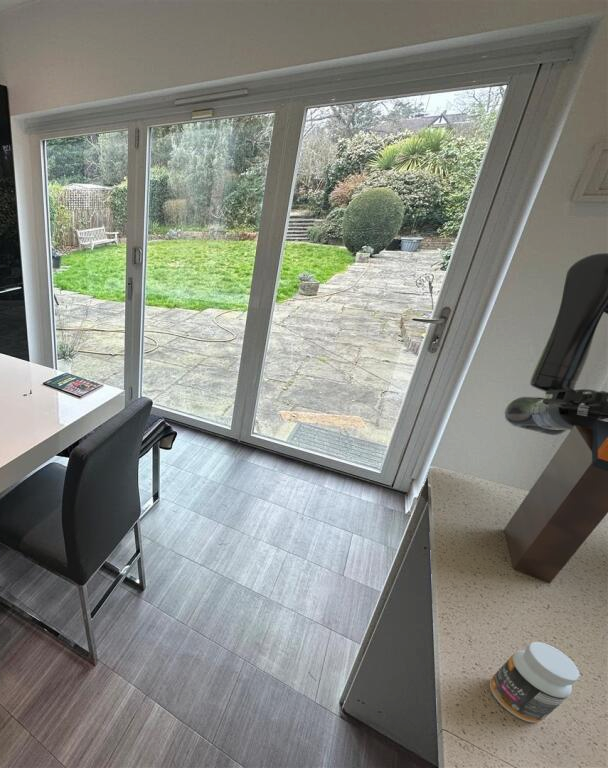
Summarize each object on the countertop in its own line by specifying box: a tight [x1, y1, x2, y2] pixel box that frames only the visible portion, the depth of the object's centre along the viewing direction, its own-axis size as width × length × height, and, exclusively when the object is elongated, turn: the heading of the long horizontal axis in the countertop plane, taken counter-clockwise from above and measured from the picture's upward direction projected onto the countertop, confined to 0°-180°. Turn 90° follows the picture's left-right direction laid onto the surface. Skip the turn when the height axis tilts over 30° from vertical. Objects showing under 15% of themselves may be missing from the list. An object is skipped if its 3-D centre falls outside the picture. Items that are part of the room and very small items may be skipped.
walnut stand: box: [503, 425, 608, 584], centre depth 73 cm, size 5×12×26 cm, turn 145°
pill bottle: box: [489, 641, 580, 723], centre depth 54 cm, size 6×6×10 cm
